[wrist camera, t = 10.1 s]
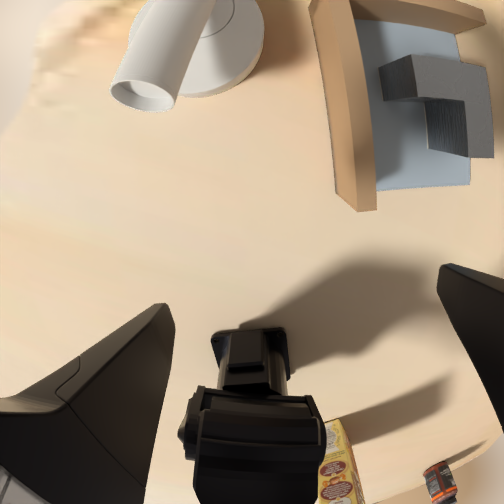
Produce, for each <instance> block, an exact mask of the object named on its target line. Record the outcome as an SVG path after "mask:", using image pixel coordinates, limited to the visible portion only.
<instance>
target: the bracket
mask: <svg viewBox="0 0 504 504" xmlns="http://www.w3.org/2000/svg"><path fill="white" fill-rule="evenodd" d="M378 71H379V77H380V83H381V90H382V96H383V101H395V102H421V103H424V104H425V113H426V123H427V134H428V149H432V150H437V151H442V152H446V153H450V154H455V155H459V156H463V157H467V158H494V139H493V122H492V111H491V101H490V93H489V86H488V80H487V74H486V68H485V67H481V66H477V65H473V64H468V63H464V62H459V61H454V60H448V59H443V58H437V57H430V56H423V55H415V54H410V55H407V56H405V57H402V58H400V59H397V60H395V61H392V62H390V63H388V64H385V65H383V66H381V67H378Z"/></svg>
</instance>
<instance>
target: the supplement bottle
mask: <svg viewBox="0 0 504 504" xmlns="http://www.w3.org/2000/svg"><path fill="white" fill-rule="evenodd" d="M423 476H424V479H425V482H426V485H427V488H428V491H429V494H430V497H431V500H432V503H433V504H455V503H456V502H457V500H456V498H455V495H456V493H457V487H456V484H455V481H454V479H453V476H452V474H451V471H450V469H449V466H448V464H447V462H441V463H438V464H436V465H434V466H432V467H430V468H429V469H428V470H426V471H425V472H424V474H423Z"/></svg>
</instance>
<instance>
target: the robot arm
mask: <svg viewBox="0 0 504 504" xmlns="http://www.w3.org/2000/svg"><path fill="white" fill-rule="evenodd" d="M437 293H438V295H439V297H440V300H441V302H442V304H443V306H444V308H445V310H446V312H447V314H448V317H449V319H450V321H451V323H452V325H453V327H454V329H455V331H456V333H457V335H458V337H459V338H460V340H461V342H462V344H463V346H464V347H465V349H466V351H467V353H468V355H469V357H470V359H471V361H472V363H473V365H474V367H475V369H476V371H477V373H478V375H479V377H480V379H481V381H482V383H483V385H484V387H485V389H486V392H487V394H488V396H489V398H490V400H491V403H492V405H493V407H494V410H495V412H496V415H497V417H498V419H499V422H500V424H501V426H502V430H503V433H504V279H502V278H499V277H495V276H492V275H489V274H486V273H483V272H479V271H476V270H473V269H469V268H466V267H463V266H459V265H456V264H452V263H448V264H443V265H441V266H440V269H439V275H438V282H437ZM278 333H282V334H278ZM174 338H175V323H174V320H173V317H172V314H171V311H170V308H169V306H168V304H166V303H158V304H154V305H152V306H151V307H149V308H148V309H146V310H145V311H143V312H142V313H140V314H139V315H137V316H136V317H135V318H133V319H132V320H130V321H129V322H127V323H126V324H124V325H123V326H121V327H120V328H118V329H117V330H115V331H114V332H113V333H111V334H110V335H108V336H107V337H105V338H104V339H102V340H101V341H99V342H98V343H96V344H95V345H94V346H92V347H91V348H89V349H88V350H86V351H85V352H83V353H82V354H81V355H80V356H77V357H76V358H75V359H73V360H72V361H70V362H69V363H67V364H66V365H64V366H63V367H61V368H60V369H58V370H57V371H55V372H53V373H52V374H50V375H48V376H47V377H45V378H43V379H42V380H40V381H38V382H37V383H35V384H33V385H32V386H30V387H28V388H27V389H25V390H23V391H22V392H20V393H18V394H16V395H14V396H11V397H6V398H0V504H143V503H144V497H145V491H146V489H145V488H146V484H147V479H148V473H149V468H150V463H151V458H152V453H153V448H154V443H155V438H156V433H157V428H158V424H159V419H160V414H161V410H162V405H163V401H164V397H165V392H166V388H167V384H168V379H169V375H170V370H171V364H172V355H173V347H174ZM215 339H218V341H217V340H215ZM211 344H212V348H213V351H214V354H215V357H216V361H217V364H218V367H219V377H218V384H217V389H212V388H205V386H199V385H198V388H197V391H196V393H194V394H193V398H191V399H189V402H188V406H187V411H186V415H185V417H184V419H183V421H182V423H181V425H180V427H179V429H178V438H179V439H180V440H181V442H182V443H183V447H184V450H185V458H186V460H192V461H195V466H194V476H193V488H194V490H195V493H196V496H197V498H198V500H199V502H200V504H314V503H315V502H316V500H317V498H318V470H319V467H320V466H321V464H322V463H323V460H324V458H325V454H326V447H327V433H326V428H325V425H324V422H323V420H322V418H321V415H320V413H319V411H318V409H317V406H316V404H315V402H314V399H313V397H312V395H305V396H288V392H287V382H286V381H288V380H289V379H290V367H289V358H288V348H287V338H286V331H285V329H284V328H282V327H279V328H270V329H262V330H251V331H242V332H232V333H221V334H214V335H212V337H211Z"/></svg>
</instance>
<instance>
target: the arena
mask: <svg viewBox="0 0 504 504" xmlns="http://www.w3.org/2000/svg"><path fill="white" fill-rule="evenodd" d="M308 8H309V13H310V17H311V22H312V26H313V31H314V36H315V41H316V46H317V51H318V57H319V62H320V68H321V74H322V80H323V86H324V93H325V99H326V106H327V114H328V121H329V130H330V138H331V147H332V157H333V167H334V178H335V191H336V194H337V195H338V196H340V197H341V198H342V199H343V200H344V201H345V202H347V203H348V204H349V205H350V206H351V207H352V208H353V209H354V210H356V211H357V212H364V211H373V210H377V197H376V191H384V190H396V189H409V188H423V187H439V186H456V185H470V158H467V157H463V156H459V155H455V154H450V153H446V152H442V151H437V150H432V149H428V134H427V123H426V113H425V104H424V103H421V102H395V101H383V96H382V90H381V83H380V77H379V71H378V67H381V66H383V65H385V64H388V63H390V62H392V61H395V60H397V59H400V58H402V57H405V56H407V55H410V54H415V55H423V56H430V57H437V58H443V59H448V60H454V61H459V62H460V57H459V52H458V48H457V43H456V39H455V35H454V34H457V33H460V32H463V31H466V30H469V29H472V28H475V27H479V26H482V25H485V24H487V23H486V20H485V17H484V13H483V10H482V9H479V8H476V7H474V6H471V5H468V4H465V3H462V2H459V1H456V0H312V1H311V3H310V5H309V7H308Z"/></svg>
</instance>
